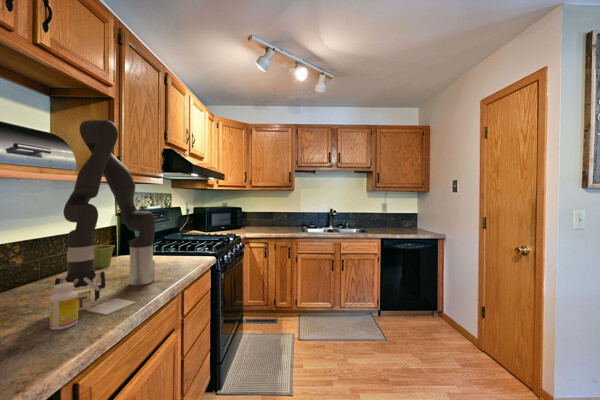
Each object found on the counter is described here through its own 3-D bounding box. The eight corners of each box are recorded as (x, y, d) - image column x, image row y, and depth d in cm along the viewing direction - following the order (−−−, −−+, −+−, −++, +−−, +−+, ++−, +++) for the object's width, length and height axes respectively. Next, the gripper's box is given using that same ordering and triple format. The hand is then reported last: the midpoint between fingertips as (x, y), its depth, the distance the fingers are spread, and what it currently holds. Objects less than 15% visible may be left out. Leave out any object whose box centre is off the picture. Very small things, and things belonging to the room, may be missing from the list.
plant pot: (120, 264, 157) (120, 245, 157) (103, 269, 145) (103, 249, 145) (101, 263, 158) (101, 244, 158) (83, 269, 146) (83, 248, 146)
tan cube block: (71, 307, 97) (71, 292, 97) (90, 303, 100) (90, 289, 100) (70, 312, 93) (70, 296, 92) (90, 308, 96) (90, 293, 96)
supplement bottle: (83, 320, 87) (83, 281, 86) (66, 330, 80) (66, 288, 80) (62, 320, 86) (62, 281, 86) (43, 331, 80) (43, 288, 80)
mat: (116, 299, 104) (116, 298, 104) (135, 303, 101) (135, 301, 101) (86, 310, 94) (86, 309, 94) (106, 315, 90) (106, 313, 90)
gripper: (104, 254, 104) (104, 295, 104) (55, 259, 95) (55, 304, 95) (106, 257, 98) (106, 301, 98) (53, 263, 89) (53, 311, 89)
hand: (81, 303), depth 96 cm, fingers open, 8 cm apart
